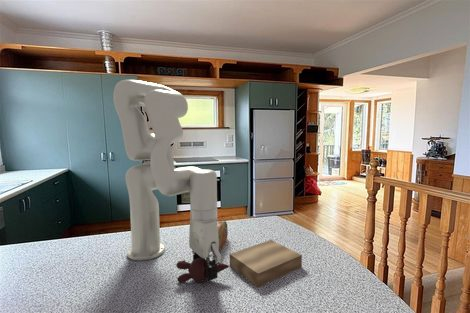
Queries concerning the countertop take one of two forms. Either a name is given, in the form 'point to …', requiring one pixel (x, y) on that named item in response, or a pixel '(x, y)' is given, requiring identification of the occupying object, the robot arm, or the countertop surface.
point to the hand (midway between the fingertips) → (204, 272)
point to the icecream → (196, 270)
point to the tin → (222, 234)
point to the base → (265, 262)
